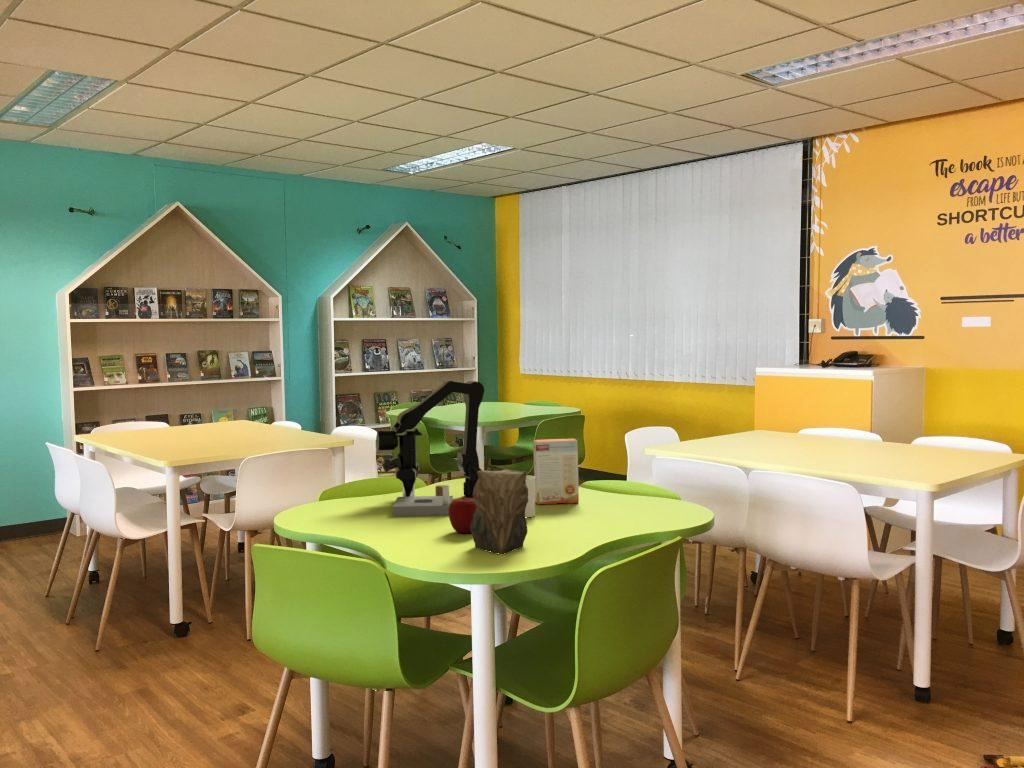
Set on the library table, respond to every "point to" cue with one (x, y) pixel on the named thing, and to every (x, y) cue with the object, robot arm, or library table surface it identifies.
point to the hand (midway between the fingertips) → (408, 495)
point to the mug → (530, 496)
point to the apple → (461, 514)
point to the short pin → (439, 490)
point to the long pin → (411, 491)
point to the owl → (500, 510)
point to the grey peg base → (423, 505)
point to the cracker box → (556, 471)
